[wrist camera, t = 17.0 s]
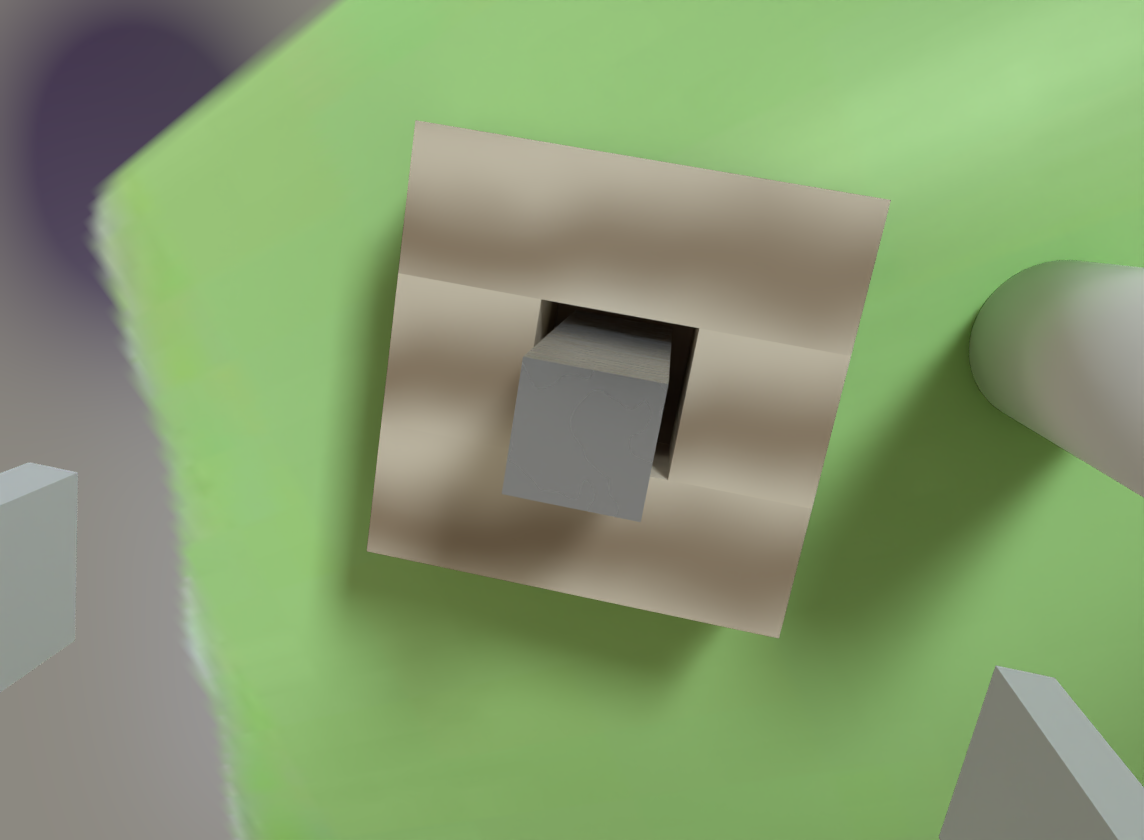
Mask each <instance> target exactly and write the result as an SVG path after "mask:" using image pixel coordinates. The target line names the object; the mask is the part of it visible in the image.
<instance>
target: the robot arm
mask: <svg viewBox="0 0 1144 840" xmlns="http://www.w3.org/2000/svg"><path fill="white" fill-rule="evenodd" d="M77 495H78V473H77V472H72V471H68V470H63V469H59V468H54V467H49V466H44V465H39V464H35V463H30V462H29V463H27V464H24V465H21V466H18V467H16V468H13V469H10V470H8V471H5V472H2V473H0V692H2V691H3V690H5V689H6V688H8V687H9V686H10V685H12V684H13V683H14V682H16V681H17V680H19V679H20V678H22V677H23V676H25V675H26V674H27V673H29V672H30V671H32V670H33V669H35V668H36V667H38V666H39V665H40V664H42V663H43V662H45V661H46V660H48V659H49V658H51V657H52V656H53V655H55V654H56V653H58V652H59V651H61V650H62V649H63V648H65V647H66V646H68V645H69V644H71V643H72V642H73V641H75V607H76V552H77V551H76V550H77V549H76V548H77ZM939 839H940V840H1144V787H1143V786H1142V785H1141V783H1140V782H1139V781H1138V780H1137V779H1136V777H1135V776H1134V775H1133V774H1132V772H1131V771H1130V770H1129V769H1128V767H1127V766H1126V765H1125V764H1124V763H1123V761H1122V760H1121V759H1120V758H1119V756H1118V755H1117V754H1116V753H1115V751H1114V750H1113V749H1112V748H1111V747H1110V745H1109V744H1108V743H1107V742H1106V740H1105V739H1104V738H1103V737H1102V735H1101V734H1100V733H1099V732H1098V731H1097V729H1096V728H1095V727H1094V726H1093V724H1092V723H1091V722H1090V721H1089V719H1088V718H1087V717H1086V716H1085V715H1084V713H1083V712H1082V711H1081V710H1080V708H1079V707H1078V706H1077V705H1076V703H1075V702H1074V701H1073V700H1072V699H1071V697H1070V696H1069V695H1068V694H1067V692H1066V691H1065V690H1064V689H1063V687H1062V686H1061V685H1060V684H1059V683H1058V681H1057V680H1056V679H1055V678H1053V677H1048V676H1044V675H1039V674H1034V673H1029V672H1025V671H1020V670H1015V669H1010V668H1006V667H1001V666H995V669H994V672H993V675H992V678H991V681H990V684H989V687H988V690H987V693H986V696H985V699H984V702H983V705H982V708H981V711H980V714H979V717H978V720H977V723H976V726H975V729H974V732H973V735H972V738H971V741H970V744H969V748H968V751H967V754H966V757H965V760H964V763H963V766H962V769H961V772H960V775H959V778H958V781H957V784H956V787H955V790H954V793H953V796H952V799H951V802H950V805H949V808H948V811H947V814H946V817H945V820H944V823H943V826H942V829H941V832H940V835H939Z"/></svg>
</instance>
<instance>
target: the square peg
mask: <svg viewBox="0 0 1144 840" xmlns="http://www.w3.org/2000/svg"><path fill="white" fill-rule="evenodd" d="M671 341H672V327H666V326H661V325H655V324H650V323H644V322H639V321H633V320H628V319H622V318H617V317H612V316H606V315H601V314H595V313H590V312H584V311H579V310H575V311H574V312H573V313H572V314H571V315H570V316H568V317H567V318H566V319H565V320H564V321H563V322H562V323H561V324H559V325H558V326H557V327H556V328H555V329H554V330H553V331H551V332H550V333H549V334H548V335H547V336H546V337H545V338H544V339H542V340H541V341H540V342H539V343H538V344H537V345H536V346H534V347H533V348H532V349H531V350H530V351H529V352H528V353H527V354H525V355H524V356H523V359H522V366H521V372H520V379H519V385H518V392H517V398H516V405H515V411H514V418H513V424H512V431H511V437H510V444H509V450H508V457H507V463H506V470H505V476H504V483H503V489H502V494H504V495H509V496H514V497H519V498H524V499H529V500H533V501H538V502H543V503H548V504H553V505H558V506H563V507H568V508H573V509H578V510H583V511H588V512H593V513H598V514H602V515H607V516H612V517H617V518H622V519H627V520H632V521H637V522H641V519H642V514H643V509H644V504H645V499H646V494H647V489H648V484H649V479H650V474H651V469H652V464H653V459H654V454H655V449H656V444H657V439H658V434H659V429H660V424H661V419H662V414H663V409H664V404H665V399H666V394H667V389H668V384H669V370H670V355H671Z"/></svg>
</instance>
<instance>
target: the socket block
mask: <svg viewBox="0 0 1144 840" xmlns="http://www.w3.org/2000/svg"><path fill="white" fill-rule="evenodd" d="M890 201H891V200H887V199H881V198H875V197H869V196H863V195H857V194H851V193H845V192H839V191H834V190H828V189H822V188H816V187H810V186H804V185H798V184H792V183H786V182H780V181H774V180H768V179H762V178H756V177H750V176H744V175H738V174H732V173H726V172H720V171H714V170H708V169H702V168H696V167H691V166H685V165H679V164H673V163H667V162H661V161H655V160H649V159H643V158H637V157H631V156H625V155H619V154H613V153H607V152H601V151H595V150H589V149H583V148H577V147H571V146H565V145H559V144H553V143H547V142H542V141H536V140H530V139H524V138H518V137H512V136H506V135H500V134H494V133H488V132H482V131H476V130H470V129H464V128H458V127H452V126H446V125H440V124H434V123H428V122H422V121H415V130H414V139H413V148H412V156H411V165H410V174H409V183H408V192H407V201H406V209H405V218H404V227H403V236H402V245H401V254H400V262H399V271H398V280H397V289H396V298H395V307H394V315H393V324H392V333H391V342H390V351H389V359H388V368H387V377H386V386H385V395H384V404H383V412H382V421H381V430H380V439H379V448H378V457H377V465H376V474H375V483H374V492H373V501H372V510H371V518H370V527H369V536H368V545H367V551H368V552H373V553H378V554H382V555H387V556H392V557H397V558H401V559H406V560H411V561H416V562H420V563H425V564H430V565H434V566H439V567H444V568H449V569H453V570H458V571H463V572H468V573H472V574H477V575H482V576H486V577H491V578H496V579H501V580H505V581H510V582H515V583H520V584H524V585H529V586H534V587H538V588H543V589H548V590H553V591H557V592H562V593H567V594H572V595H576V596H581V597H586V598H590V599H595V600H600V601H605V602H609V603H614V604H619V605H624V606H628V607H633V608H638V609H642V610H647V611H652V612H657V613H661V614H666V615H671V616H676V617H680V618H685V619H690V620H694V621H699V622H704V623H709V624H713V625H718V626H723V627H728V628H732V629H737V630H742V631H746V632H751V633H756V634H761V635H765V636H770V637H775V638H779V636H780V632H781V628H782V624H783V620H784V617H785V613H786V609H787V605H788V601H789V597H790V593H791V589H792V585H793V581H794V577H795V573H796V570H797V566H798V562H799V558H800V554H801V550H802V546H803V542H804V538H805V534H806V530H807V526H808V523H809V519H810V515H811V511H812V507H813V503H814V499H815V495H816V491H817V487H818V483H819V479H820V476H821V472H822V468H823V464H824V460H825V456H826V452H827V448H828V444H829V440H830V436H831V432H832V429H833V425H834V421H835V417H836V413H837V409H838V405H839V401H840V397H841V393H842V389H843V385H844V382H845V378H846V374H847V370H848V366H849V362H850V358H851V354H852V350H853V346H854V342H855V338H856V335H857V331H858V327H859V323H860V319H861V315H862V311H863V307H864V303H865V299H866V295H867V291H868V288H869V284H870V280H871V276H872V272H873V268H874V264H875V260H876V256H877V252H878V248H879V244H880V241H881V237H882V233H883V229H884V225H885V221H886V217H887V213H888V209H889V205H890ZM575 310H579V311H584V312H590V313H595V314H601V315H606V316H612V317H617V318H622V319H628V320H633V321H639V322H644V323H650V324H655V325H661V326H666V327H672V341H671V355H670V370H669V384H668V389H667V394H666V399H665V404H664V409H663V414H662V419H661V424H660V429H659V434H658V439H657V444H656V449H655V454H654V459H653V464H652V469H651V474H650V479H649V484H648V489H647V494H646V499H645V504H644V509H643V514H642V519H641V522H637V521H632V520H627V519H622V518H617V517H612V516H607V515H602V514H598V513H593V512H588V511H583V510H578V509H573V508H568V507H563V506H558V505H553V504H548V503H543V502H538V501H533V500H529V499H524V498H519V497H514V496H509V495H504V494H502V489H503V483H504V476H505V470H506V463H507V457H508V450H509V444H510V437H511V431H512V424H513V418H514V411H515V405H516V398H517V392H518V385H519V379H520V372H521V366H522V359H523V356H524V355H525V354H527V353H528V352H529V351H530V350H531V349H532V348H533V347H534V346H536V345H537V344H538V343H539V342H540V341H541V340H542V339H544V338H545V337H546V336H547V335H548V334H549V333H550V332H551V331H553V330H554V329H555V328H556V327H557V326H558V325H559V324H561V323H562V322H563V321H564V320H565V319H566V318H567V317H568V316H570V315H571V314H572V313H573V312H574V311H575Z"/></svg>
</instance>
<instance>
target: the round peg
mask: <svg viewBox="0 0 1144 840" xmlns="http://www.w3.org/2000/svg"><path fill="white" fill-rule="evenodd" d="M969 362H970V366H971V371H972V374H973V377H974V380H975V382H976V384H977V386H978V387H979V389H980V391H981V392H982V394H983V395H984V396H985V398H986V399H987V400H988V401H989V402H990V403H991V404H992V405H993V406H995V407H996V408H997V409H999V410H1000V411H1001V412H1003V413H1004V414H1006V415H1008V416H1009V417H1011V418H1013V419H1014V420H1016V421H1018V422H1019V423H1021V424H1023V425H1024V426H1026V427H1028V428H1029V429H1031V430H1033V431H1034V432H1036V433H1038V434H1039V435H1041V436H1043V437H1044V438H1046V439H1048V440H1049V441H1051V442H1053V443H1054V444H1056V445H1058V446H1059V447H1061V448H1062V449H1064V450H1066V451H1067V452H1069V453H1071V454H1072V455H1074V456H1076V457H1077V458H1079V459H1081V460H1082V461H1084V462H1086V463H1087V464H1089V465H1091V466H1092V467H1094V468H1096V469H1097V470H1099V471H1101V472H1102V473H1104V474H1106V475H1107V476H1109V477H1111V478H1112V479H1114V480H1116V481H1117V482H1119V483H1120V484H1122V485H1124V486H1125V487H1127V488H1129V489H1130V490H1132V491H1134V492H1135V493H1137V494H1139V495H1140V496H1142V497H1144V268H1142V267H1133V266H1124V265H1115V264H1105V263H1096V262H1087V261H1077V260H1057V261H1050V262H1045V263H1041V264H1038V265H1035V266H1032V267H1030V268H1027V269H1025V270H1023V271H1021V272H1019V273H1017V274H1016V275H1014V276H1012V277H1011V278H1009V279H1008V280H1007V281H1005V282H1004V283H1003V284H1002V285H1001V286H999V287H998V288H997V289H996V290H995V291H994V292H993V293H992V295H991V296H990V297H989V298H988V299H987V301H986V302H985V303H984V305H983V306H982V308H981V310H980V311H979V313H978V315H977V317H976V319H975V322H974V325H973V328H972V331H971V336H970V341H969Z"/></svg>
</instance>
